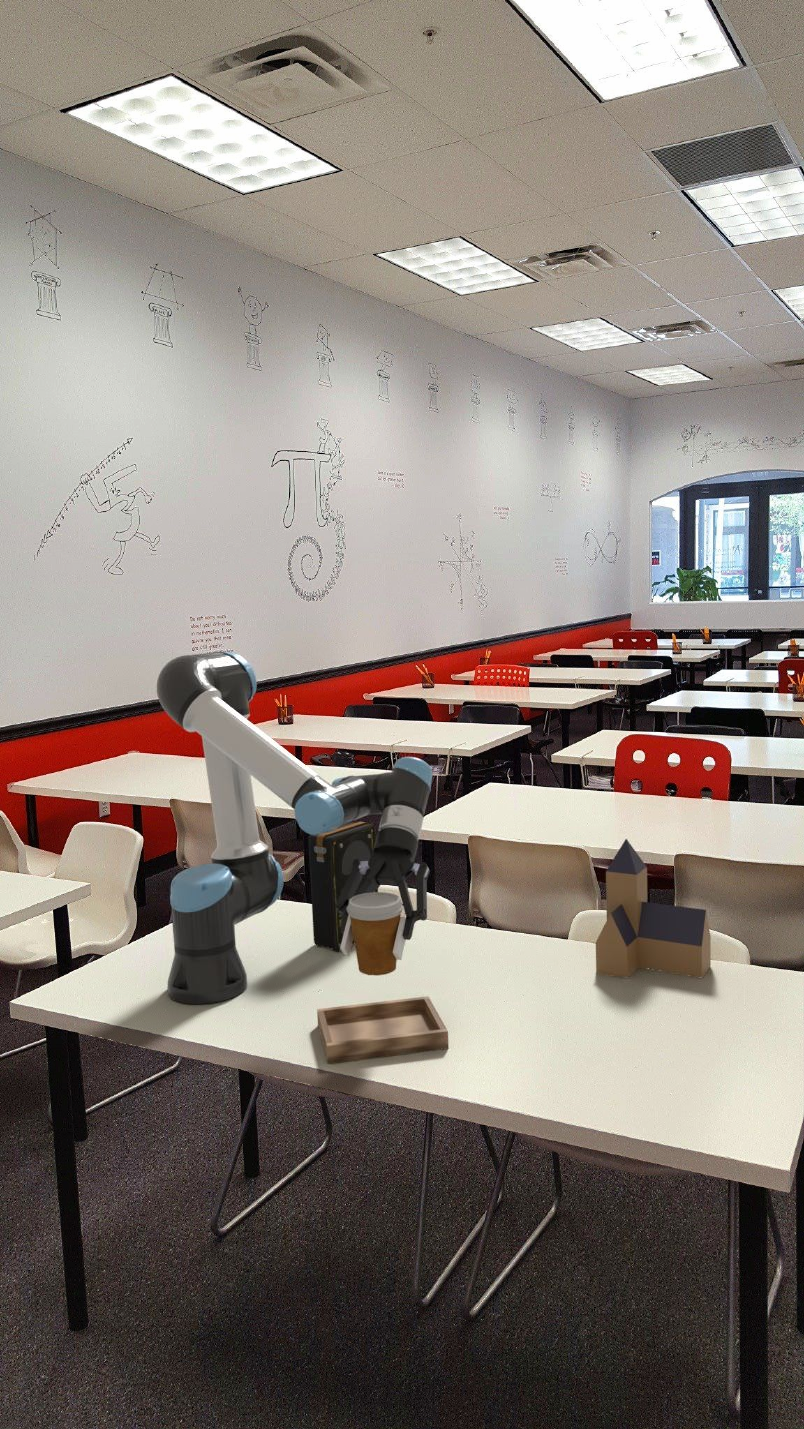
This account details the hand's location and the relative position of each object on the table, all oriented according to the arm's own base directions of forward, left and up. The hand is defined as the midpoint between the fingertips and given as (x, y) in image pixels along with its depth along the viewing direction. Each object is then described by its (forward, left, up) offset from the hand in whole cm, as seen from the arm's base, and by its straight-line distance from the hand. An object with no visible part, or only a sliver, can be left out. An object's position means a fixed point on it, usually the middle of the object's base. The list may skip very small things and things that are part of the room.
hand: (370, 954), depth 166 cm
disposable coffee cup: (+1, +3, -4) cm, 5 cm away
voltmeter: (+3, +53, -16) cm, 55 cm away
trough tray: (+2, +3, -16) cm, 16 cm away
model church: (+58, +18, -16) cm, 63 cm away
